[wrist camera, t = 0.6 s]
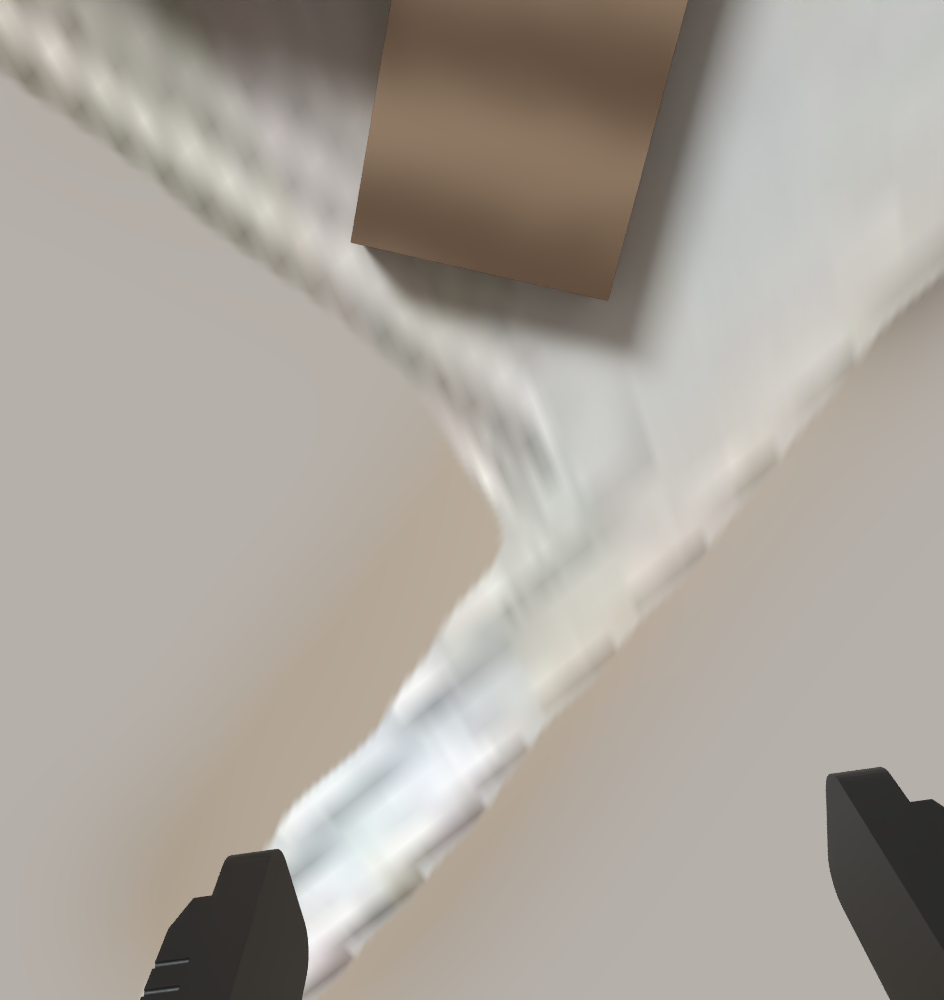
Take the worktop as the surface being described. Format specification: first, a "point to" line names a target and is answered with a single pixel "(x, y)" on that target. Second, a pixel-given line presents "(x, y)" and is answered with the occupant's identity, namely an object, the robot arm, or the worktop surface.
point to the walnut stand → (515, 134)
